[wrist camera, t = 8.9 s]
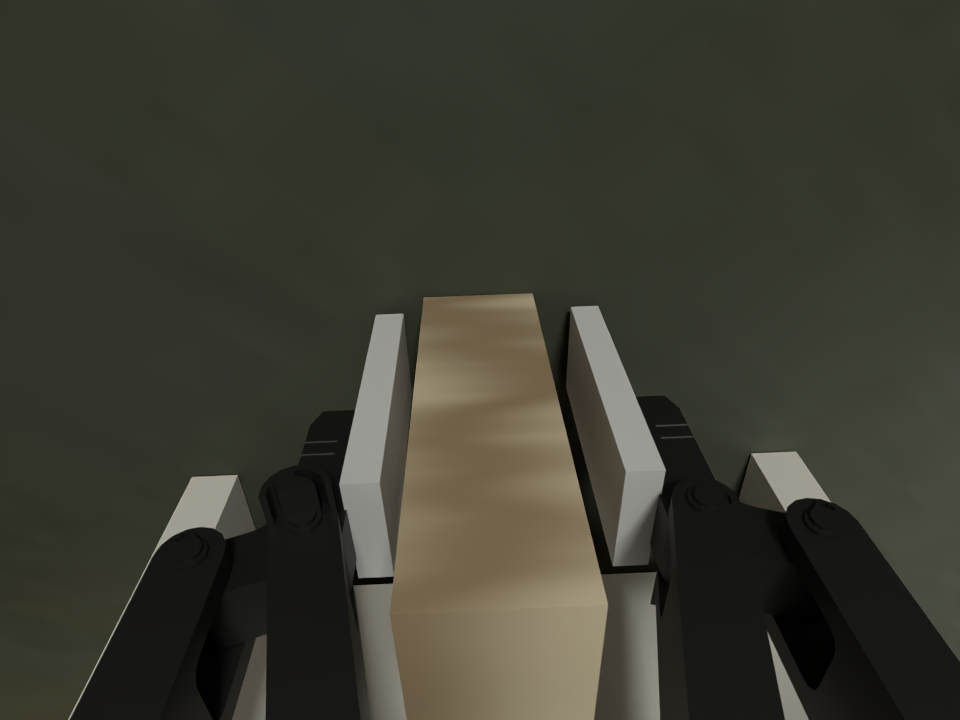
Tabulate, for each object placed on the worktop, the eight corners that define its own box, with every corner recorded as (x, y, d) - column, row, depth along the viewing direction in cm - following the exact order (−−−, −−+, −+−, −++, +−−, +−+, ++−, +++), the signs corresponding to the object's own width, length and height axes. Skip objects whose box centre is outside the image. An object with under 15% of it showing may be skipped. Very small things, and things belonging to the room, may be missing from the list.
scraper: (622, 290, 17) (788, 596, 9) (583, 676, 27) (643, 1004, 18) (332, 300, 17) (206, 622, 8) (397, 684, 26) (368, 1019, 18)
